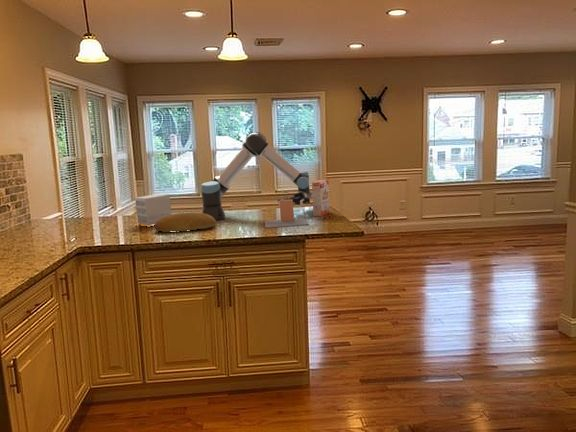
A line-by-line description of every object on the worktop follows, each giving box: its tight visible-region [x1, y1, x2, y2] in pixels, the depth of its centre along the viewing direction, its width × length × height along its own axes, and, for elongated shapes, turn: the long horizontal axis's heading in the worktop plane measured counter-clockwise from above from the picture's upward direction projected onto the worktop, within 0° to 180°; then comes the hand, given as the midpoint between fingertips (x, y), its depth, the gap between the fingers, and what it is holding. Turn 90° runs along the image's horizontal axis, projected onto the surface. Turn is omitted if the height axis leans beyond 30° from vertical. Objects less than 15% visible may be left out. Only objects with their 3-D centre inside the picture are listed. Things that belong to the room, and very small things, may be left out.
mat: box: [264, 217, 310, 229], centre depth 270 cm, size 24×19×1 cm
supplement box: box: [134, 193, 173, 225], centre depth 295 cm, size 17×13×18 cm
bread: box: [153, 211, 217, 233], centre depth 272 cm, size 18×35×10 cm, turn 94°
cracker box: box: [311, 179, 331, 217], centre depth 290 cm, size 14×6×21 cm, turn 154°
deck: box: [279, 200, 295, 221], centre depth 275 cm, size 4×7×12 cm, turn 73°
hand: (289, 203), depth 280 cm, fingers open, 13 cm apart
